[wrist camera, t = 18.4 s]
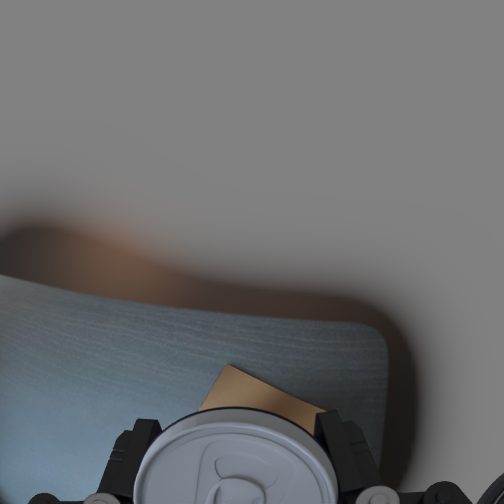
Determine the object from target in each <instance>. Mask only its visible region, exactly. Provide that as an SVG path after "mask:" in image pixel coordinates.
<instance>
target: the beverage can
mask: <svg viewBox="0 0 504 504" xmlns="http://www.w3.org/2000/svg"><path fill="white" fill-rule="evenodd" d="M133 500H134V504H338V501H339V488H338V476H337V472H336V469H335V466H334V464H333V462H332V460H331V458H330V456H329V454H328V453H327V451H326V450H325V448H324V447H323V446H322V444H321V443H320V442H319V441H318V440H317V439H316V438H315V437H314V436H313V435H312V434H311V433H310V432H308V431H307V430H306V429H304V428H303V427H302V426H300V425H298V424H297V423H295V422H293V421H292V420H290V419H288V418H286V417H283V416H281V415H278V414H276V413H273V412H269V411H266V410H262V409H257V408H251V407H241V406H228V407H216V408H211V409H206V410H202V411H198V412H195V413H192V414H190V415H187V416H185V417H183V418H181V419H179V420H177V421H176V422H174V423H172V424H171V425H169V426H168V427H167V428H165V429H164V430H163V431H162V432H161V433H160V434H159V435H158V436H157V437H156V438H155V439H154V440H153V441H152V443H151V444H150V445H149V447H148V448H147V450H146V452H145V454H144V456H143V458H142V460H141V463H140V466H139V470H138V474H137V477H136V481H135V485H134V497H133Z"/></svg>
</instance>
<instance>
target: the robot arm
mask: <svg viewBox="0 0 504 504" xmlns="http://www.w3.org/2000/svg"><path fill="white" fill-rule="evenodd" d="M161 432H162V429H161V426H160V423H159V421H158V420H153V419H140V418H138V419H137V420H136V422H135V425H134V428H133V430H132V431H129V430H125V431H124V432H123V433H122V434H121V435H120V436H119V437H118V438H117V440H116V442H115V445H114V447H113V451H112V453H111V455H110V460H108V463H107V466H106V469H105V471H104V474H103V477H102V479H101V482H100V485H99V488H98V490H97V492H96V493H94V494H92V495H90V496H89V497H87V498H86V499H85V500H84V501H59V500H58V499H57V498H56V497H55V496H53V495H51V494H48V493H40V494H37V495H35V496H34V497H33V498H32V499H31V500H30V501H29V503H28V504H134V500H133V497H134V485H135V481H136V477H137V474H138V470H139V466H140V463H141V460H142V458H143V456H144V454H145V452H146V450H147V448H148V447H149V445H150V444H151V443H152V441H153V440H154V439H155V438H156V437H157V436H158V435H159V434H160V433H161ZM313 436H314V437H315V438H316V439H317V440H318V441H319V442H320V443H321V444H322V446H323V447H324V448H325V450H326V451H327V453H328V454H329V456H330V458H331V460H332V462H333V464H334V466H335V469H336V472H337V476H338V488H339V501H338V504H472V502H471V501H470V500H469V499H468V498H467V496H466V495H465V494H464V493H463V492H462V491H461V489H460V488H459V487H458V486H457V485H456V484H454V483H452V482H447V481H442V482H437V483H435V484H433V485H431V486H430V487H429V488H428V489H427V490H426V492H412V493H399V492H395V491H393V490H392V489H391V488H389V487H387V486H385V484H384V483H383V482H382V479H381V477H380V474H379V471H378V469H377V467H376V464H375V462H374V459H373V457H372V454H371V452H370V451H369V447H368V445H367V442H366V441H365V438H364V435H363V433H362V430H361V429H360V428H359V427H358V426H357V425H356V424H355V423H354V422H352V421H348V422H341V419H340V416H339V414H338V411H337V410H333V411H326V412H320V413H316V416H315V425H314V434H313ZM491 504H504V489H503V490H502V491H501V492H500V493H499V494H498V495H497V496H496V498H495V499H494V500H493V502H492V503H491Z"/></svg>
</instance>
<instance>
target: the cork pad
mask: <svg viewBox="0 0 504 504" xmlns="http://www.w3.org/2000/svg"><path fill="white" fill-rule="evenodd" d="M228 406H241V407H251V408H257V409H262V410H266V411H269V412H273V413H276V414H278V415H281V416H283V417H286V418H288V419H290V420H292V421H293V422H295V423H297V424H298V425H300V426H302V427H303V428H304V429H306V430H307V431H308V432H310V433H311V434H312V435H313V434H314V425H315V416H316V413H320V412H326V411H325V410H323V409H321V408H318V407H316V406H314V405H311V404H309V403H307V402H304V401H302V400H300V399H298V398H296V397H293V396H291V395H289V394H287V393H285V392H283V391H281V390H279V389H276V388H274V387H272V386H270V385H268V384H266V383H264V382H262V381H260V380H258V379H256V378H254V377H252V376H250V375H248V374H246V373H244V372H242V371H241V370H239V369H237V368H235V367H233V366H231V365H229V364H226V365H225V367H224V369H223V371H222V372H221V374H220V376H219V377H218V379H217V381H216V382H215V384H214V386H213V387H212V389H211V391H210V393H209V394H208V396H207V398H206V399H205V401H204V403H203V404H202V406H201V408H200V409H199V411H202V410H206V409H211V408H216V407H228Z"/></svg>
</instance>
